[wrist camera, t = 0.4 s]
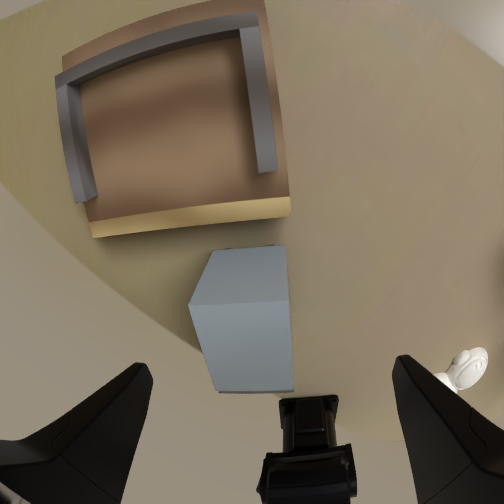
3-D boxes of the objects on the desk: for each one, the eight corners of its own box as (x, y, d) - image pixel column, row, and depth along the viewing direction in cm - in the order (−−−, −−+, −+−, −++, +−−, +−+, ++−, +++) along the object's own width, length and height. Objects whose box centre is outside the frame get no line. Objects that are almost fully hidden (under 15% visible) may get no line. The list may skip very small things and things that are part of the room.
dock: (289, 204, 19) (292, 224, 16) (109, 225, 21) (82, 246, 17) (264, 7, 13) (261, -18, 10) (81, 59, 15) (48, 54, 12)
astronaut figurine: (396, 391, 28) (402, 411, 25) (479, 333, 24) (491, 351, 21) (418, 413, 30) (423, 430, 27) (488, 365, 26) (497, 380, 23)
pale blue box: (291, 325, 24) (293, 396, 17) (232, 328, 24) (218, 397, 17) (285, 239, 20) (288, 300, 14) (215, 244, 21) (188, 305, 14)
